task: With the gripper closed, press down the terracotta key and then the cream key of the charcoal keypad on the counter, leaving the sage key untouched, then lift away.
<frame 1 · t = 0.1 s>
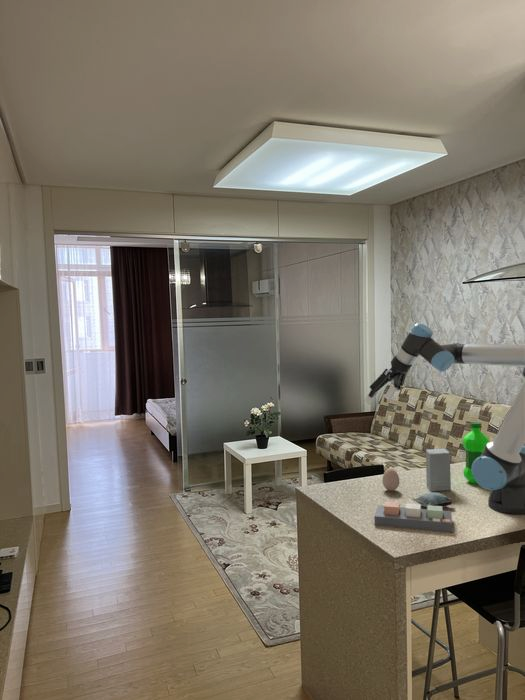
hand: (377, 400, 215), 36 cm above the countertop, fingers open, 13 cm apart
skincare box: (438, 489, 214), on the countertop
packaged food: (432, 507, 194), on the countertop
cream key: (413, 512, 179), point 4 cm above the countertop, slide at 0.0 cm
terracotta key: (391, 510, 181), point 4 cm above the countertop, slide at 0.0 cm
plastic bottle: (476, 482, 221), on the countertop
keypad board: (413, 522, 179), on the countertop
egg: (391, 491, 213), on the countertop
sage key: (434, 514, 177), point 4 cm above the countertop, slide at 0.0 cm
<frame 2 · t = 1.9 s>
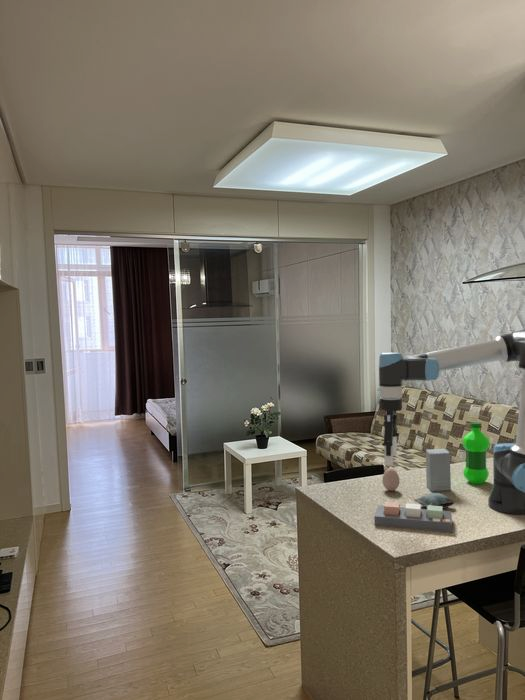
hand: (390, 459, 181), 21 cm above the countertop, fingers open, 13 cm apart
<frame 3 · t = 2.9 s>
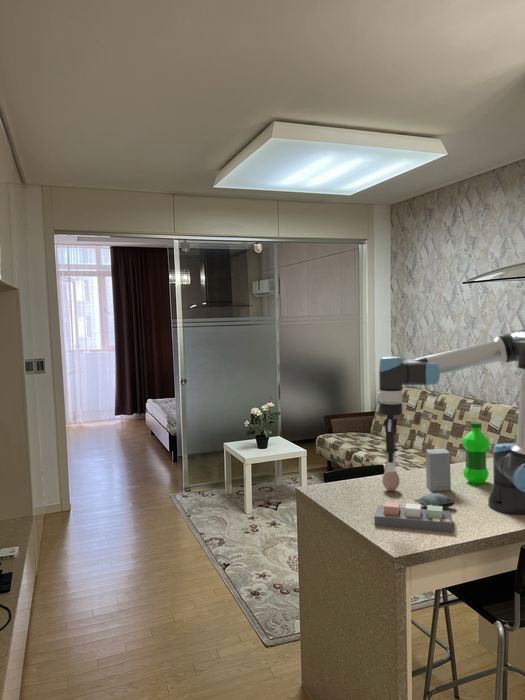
hand: (390, 471, 180), 17 cm above the countertop, fingers closed
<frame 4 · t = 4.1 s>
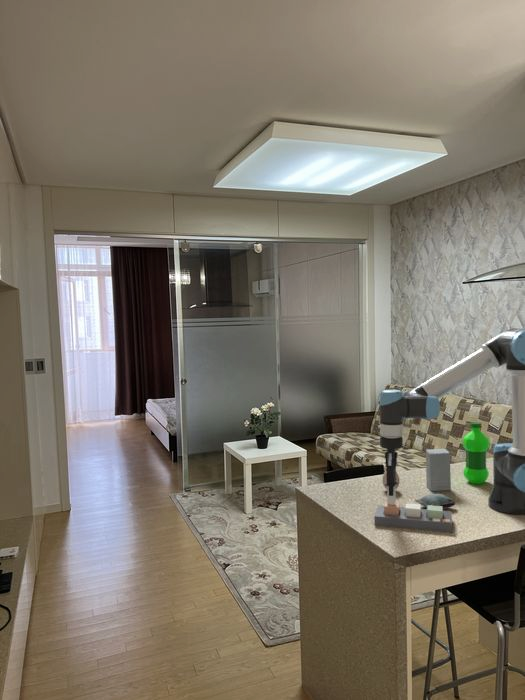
hand: (391, 503, 181), 6 cm above the countertop, fingers closed
terracotta key: (391, 510, 181), point 4 cm above the countertop, slide at 0.0 cm, touching gripper
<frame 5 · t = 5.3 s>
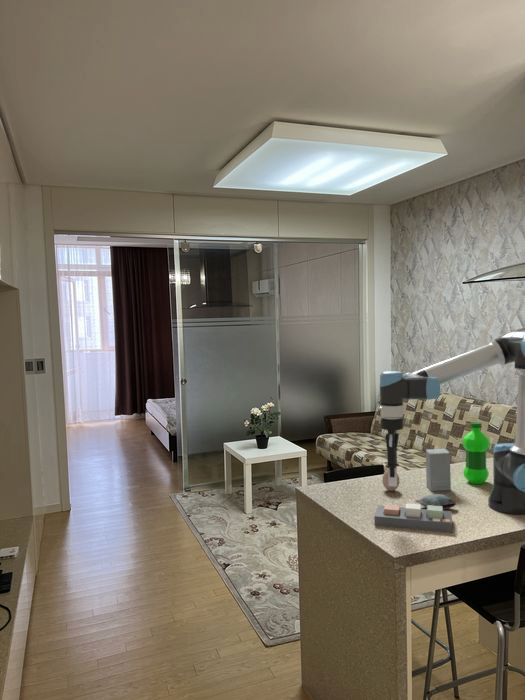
hand: (392, 485, 181), 12 cm above the countertop, fingers closed
terracotta key: (392, 512, 181), point 3 cm above the countertop, slide at 1.0 cm
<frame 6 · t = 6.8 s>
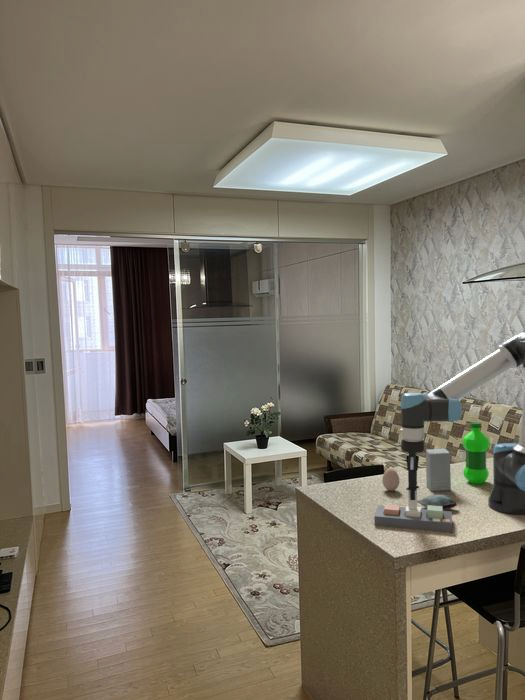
hand: (412, 508, 179), 5 cm above the countertop, fingers closed
cream key: (413, 514, 179), point 3 cm above the countertop, slide at 0.9 cm, touching gripper
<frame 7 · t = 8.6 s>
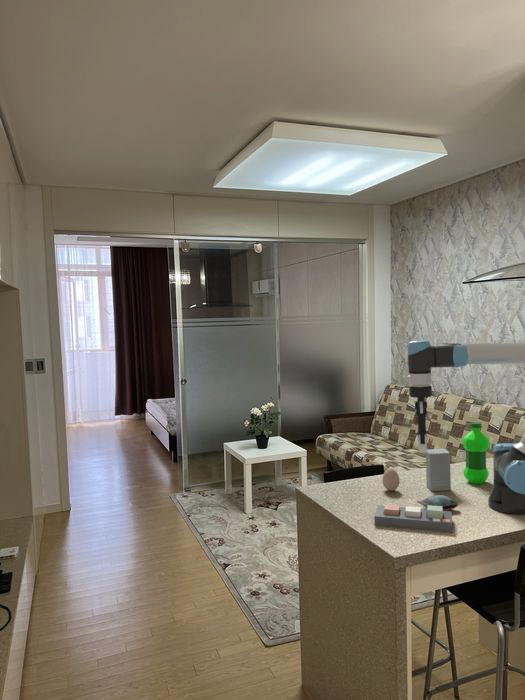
hand: (423, 452, 184), 22 cm above the countertop, fingers closed
cream key: (413, 514, 179), point 3 cm above the countertop, slide at 1.0 cm
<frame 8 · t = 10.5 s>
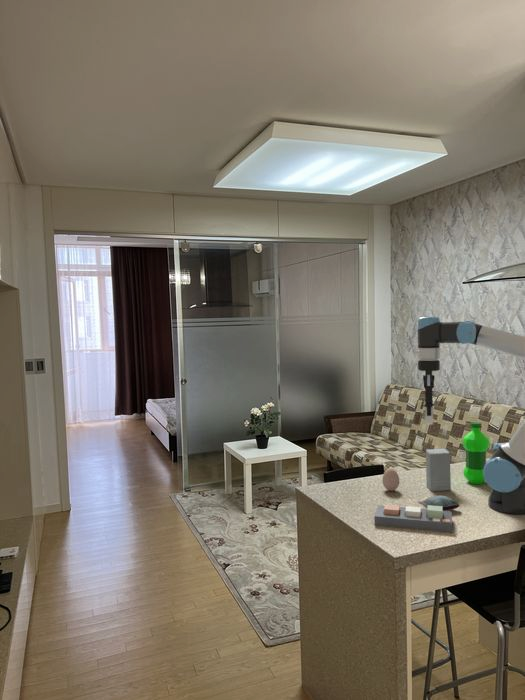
hand: (429, 424, 193), 30 cm above the countertop, fingers closed
at the end: terracotta key slide at 1.0 cm; cream key slide at 1.0 cm; sage key slide at 0.0 cm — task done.
